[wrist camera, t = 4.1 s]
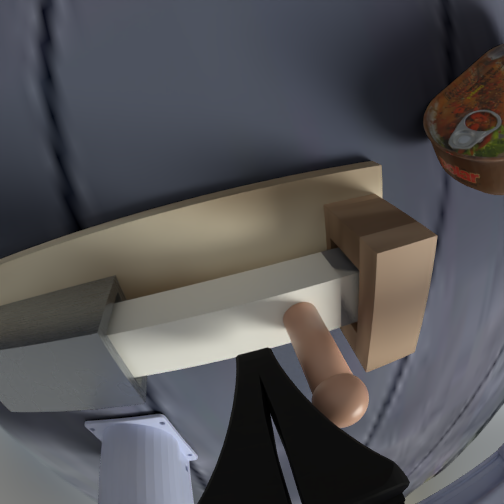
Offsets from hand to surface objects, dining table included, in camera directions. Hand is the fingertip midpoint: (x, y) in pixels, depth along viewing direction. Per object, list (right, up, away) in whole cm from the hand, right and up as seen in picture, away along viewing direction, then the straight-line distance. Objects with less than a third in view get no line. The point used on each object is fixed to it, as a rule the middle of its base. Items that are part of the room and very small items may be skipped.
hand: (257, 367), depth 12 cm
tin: (+14, +15, +3) cm, 21 cm away
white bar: (-3, +1, +4) cm, 5 cm away
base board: (-6, +2, +5) cm, 8 cm away
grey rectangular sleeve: (-12, 0, +5) cm, 13 cm away
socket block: (+5, +5, +6) cm, 9 cm away
